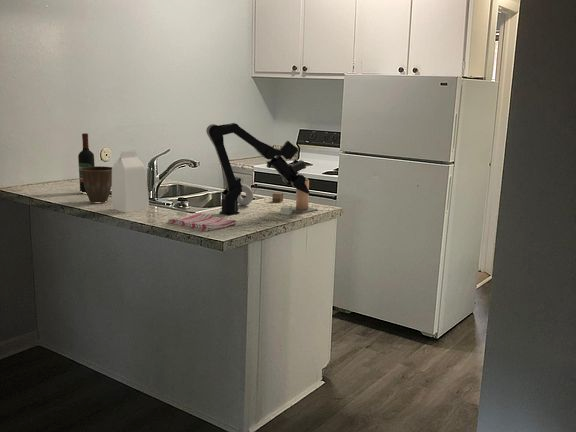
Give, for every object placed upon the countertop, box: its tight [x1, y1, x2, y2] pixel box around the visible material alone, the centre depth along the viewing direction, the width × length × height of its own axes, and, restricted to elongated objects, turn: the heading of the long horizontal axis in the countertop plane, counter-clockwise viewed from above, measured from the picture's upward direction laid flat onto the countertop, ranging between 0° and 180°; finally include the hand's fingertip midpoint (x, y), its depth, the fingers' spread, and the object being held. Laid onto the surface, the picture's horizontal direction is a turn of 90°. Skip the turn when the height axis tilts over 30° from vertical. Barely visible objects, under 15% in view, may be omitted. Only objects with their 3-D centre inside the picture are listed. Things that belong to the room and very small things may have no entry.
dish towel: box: [167, 212, 237, 232], centre depth 243 cm, size 17×23×4 cm
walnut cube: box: [271, 192, 284, 203], centre depth 294 cm, size 4×4×4 cm
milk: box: [111, 150, 150, 213], centre depth 266 cm, size 12×12×26 cm
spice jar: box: [295, 177, 310, 210], centre depth 272 cm, size 6×6×14 cm
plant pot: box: [81, 166, 113, 203], centre depth 282 cm, size 15×15×16 cm
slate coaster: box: [292, 206, 319, 214], centre depth 274 cm, size 10×10×1 cm
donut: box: [237, 183, 254, 207], centre depth 281 cm, size 10×4×10 cm, turn 64°
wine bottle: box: [77, 132, 96, 192], centre depth 304 cm, size 8×8×30 cm
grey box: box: [280, 205, 293, 216], centre depth 267 cm, size 6×4×3 cm, turn 168°
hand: (305, 191), depth 273 cm, fingers open, 9 cm apart
